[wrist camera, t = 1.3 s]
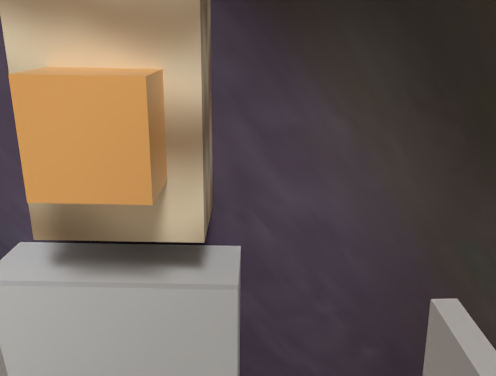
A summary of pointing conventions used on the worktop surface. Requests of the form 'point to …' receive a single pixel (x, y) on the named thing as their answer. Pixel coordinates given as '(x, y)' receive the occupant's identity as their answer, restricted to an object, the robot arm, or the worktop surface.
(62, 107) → the orange square block
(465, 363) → the robot arm
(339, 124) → the worktop surface
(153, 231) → the pallet
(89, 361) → the dock
